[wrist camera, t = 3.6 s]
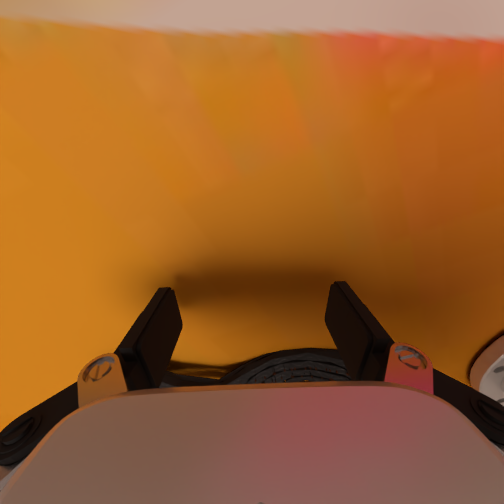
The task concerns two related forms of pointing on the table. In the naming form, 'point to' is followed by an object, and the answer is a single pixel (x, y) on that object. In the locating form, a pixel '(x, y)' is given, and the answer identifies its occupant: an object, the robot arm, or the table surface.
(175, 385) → the hairbrush
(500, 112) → the table surface
